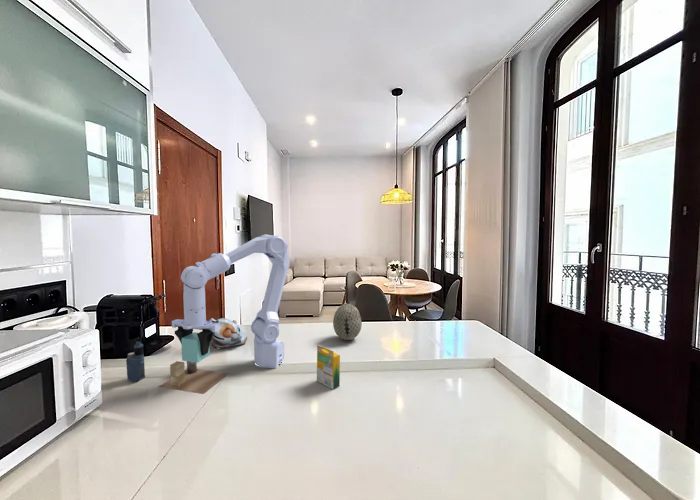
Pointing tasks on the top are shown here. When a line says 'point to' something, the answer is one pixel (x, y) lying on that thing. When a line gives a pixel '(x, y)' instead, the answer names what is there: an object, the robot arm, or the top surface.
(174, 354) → the top surface
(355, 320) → the decorative egg
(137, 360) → the vaping device
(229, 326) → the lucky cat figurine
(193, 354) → the teal foam cube
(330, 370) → the crayon box
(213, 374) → the board
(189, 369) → the metal post
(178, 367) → the maple post
